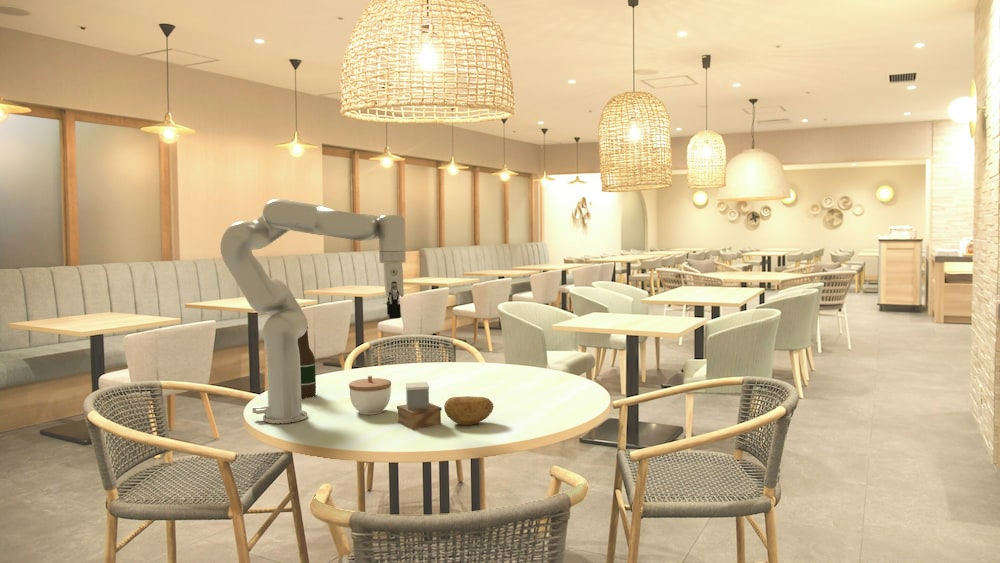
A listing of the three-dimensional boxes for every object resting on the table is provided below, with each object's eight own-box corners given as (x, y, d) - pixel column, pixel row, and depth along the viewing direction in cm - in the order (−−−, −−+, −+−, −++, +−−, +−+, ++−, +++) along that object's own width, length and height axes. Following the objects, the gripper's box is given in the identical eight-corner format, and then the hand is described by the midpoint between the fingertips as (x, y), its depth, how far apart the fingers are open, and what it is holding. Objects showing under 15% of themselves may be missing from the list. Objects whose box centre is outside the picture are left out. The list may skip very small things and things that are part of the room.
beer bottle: (299, 393, 251) (297, 323, 249) (320, 393, 249) (318, 323, 248) (288, 398, 243) (286, 326, 242) (310, 399, 242) (307, 326, 240)
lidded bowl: (400, 411, 224) (399, 375, 223) (365, 419, 215) (364, 382, 214) (375, 404, 233) (374, 370, 232) (341, 412, 224) (340, 376, 223)
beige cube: (407, 409, 206) (406, 387, 206) (406, 404, 212) (405, 383, 212) (429, 408, 207) (428, 386, 207) (427, 403, 214) (427, 382, 213)
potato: (496, 427, 205) (495, 399, 205) (445, 429, 203) (445, 401, 203) (491, 418, 215) (490, 391, 214) (443, 420, 213) (442, 393, 212)
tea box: (412, 431, 203) (411, 412, 203) (397, 423, 211) (396, 406, 211) (441, 425, 209) (441, 407, 208) (425, 418, 216) (425, 401, 216)
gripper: (407, 258, 205) (409, 319, 206) (403, 256, 222) (404, 312, 223) (380, 259, 203) (382, 320, 204) (378, 256, 220) (379, 313, 221)
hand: (393, 316), depth 214 cm, fingers open, 9 cm apart
